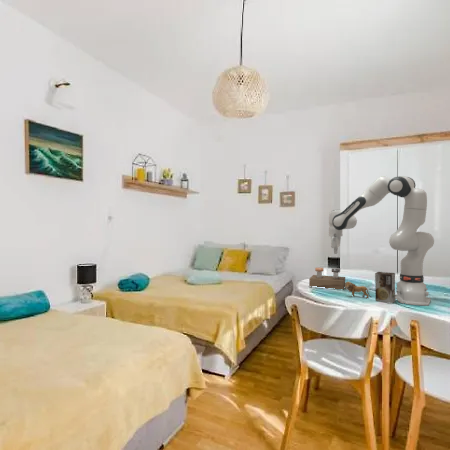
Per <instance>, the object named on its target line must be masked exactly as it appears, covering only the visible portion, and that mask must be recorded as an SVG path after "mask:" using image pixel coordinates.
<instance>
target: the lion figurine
mask: <svg viewBox="0 0 450 450" xmlns="http://www.w3.org/2000/svg"><path fill="white" fill-rule="evenodd" d="M344 289H346V290H347V291H348V293H349V292H351V295H353V296H354V297H355V293H361V292H362V293H363V295H362V296H364V297H365V299H367V298H368V299H369V297H370V298H372V296H371V295H370V292H369V289H368V288H367V287H366V286H365V285H364V286H363V285H361V286H357V285H356V284H355V283H353V282H351V281H345V288H344Z"/></svg>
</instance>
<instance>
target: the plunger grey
mask: <svg viewBox="0 0 450 450" xmlns="http://www.w3.org/2000/svg"><path fill="white" fill-rule="evenodd" d="M340 272H341V268H338V267H337V268H336V267H335V268H334V267H333V268H331V273H333V275H332V276H333V279H338V276H339V273H340Z"/></svg>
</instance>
